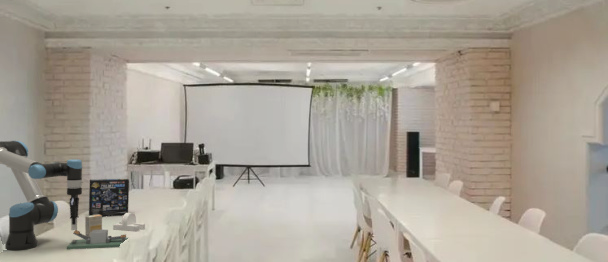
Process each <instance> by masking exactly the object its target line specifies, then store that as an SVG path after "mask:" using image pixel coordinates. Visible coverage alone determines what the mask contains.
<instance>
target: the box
mask: <svg viewBox="0 0 608 262" xmlns="http://www.w3.org/2000/svg"><path fill="white" fill-rule="evenodd" d="M129 190H130V179H129V178H104V179H103V178H99V179H98V178H96V179H95V178H94V179H93V178H92V179H91V178H90V179H89V191H88V192H89V193H88V216H90V215H97V214H99V215H102V218H103V217H106V216H107V217H118V216H119V217H122V215H123V216H124V214H125V213H129V196H130V195H129V194H130V193H129V192H130V191H129ZM107 217H106V218H107Z"/></svg>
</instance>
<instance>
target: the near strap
mask: <svg viewBox="0 0 608 262" xmlns="http://www.w3.org/2000/svg"><path fill="white" fill-rule="evenodd" d="M73 235H75V236H78V237H79V238H80V239H85V240H87V239H90V237H87V236H85V234H83V233H82V232H81V231H80V230H78V229H77V230H73Z"/></svg>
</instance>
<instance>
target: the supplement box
mask: <svg viewBox="0 0 608 262" xmlns="http://www.w3.org/2000/svg"><path fill="white" fill-rule="evenodd" d="M84 218H85V219H84V220H85V223H84V224H85V228H84V229H85V234H84V235H85V236H87V237H90V233H91V232H92V231H93V230H103V217H102V215H99V214H97V215H90V216H89V215H85V216H84Z"/></svg>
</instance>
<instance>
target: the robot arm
mask: <svg viewBox="0 0 608 262" xmlns="http://www.w3.org/2000/svg"><path fill="white" fill-rule="evenodd" d="M28 156H29V148H28V146H27V145H26V144H25V142H23V141H19V140H10V141H9V140H8V141H7V140H5V141H0V164H1V165H4V166H6V167H7V168H10V169H11V171H12V173H13V176H14V177H15V180H16V181H17V183H18V185H19V187H20V189H21V191H22V193H23V195H24V197H25V200H26V201H27V202H22V203H21V202H20V203H16V204H14V205H12V206H11V207H9V213H8V222H9V226H8V229H9V230H8V231H9V232H8V233H9V234H8V236H7V239H6V242H5V249H6V250H8V251H22V250H28V249H33V248H36V247H37V246H38V240H37V236H36V235H35V231H34V227H35V226H37V225H42V224H47V223H49V222H53V221H54V220H56V218H57V216H58V213H59V208H58V207H59V206H58V205H57V203H56V202H55V201H53V200H50V199H49V197H48V196H47V195H44V194H43V191H42V190H41V188H40V186H39V184H38V182H37V179H38V180H41V179H47V178H54V177H55V178H56V177H66V195H67V196H70V198H69V213H70V214H69V215H70V216H69V219H70V221H71V222H70V224H71V225H70V226H71V228H70V229H71V231H75V230H77V231H78V218H79V204H80V197H79V196H80V195H82V194H83V190H82V189H83V188H82V186H83V183H84V181H82V180H83V162H82V160H81V159H76V158H75V159H73V158H72V159H68V160H67V161H66V162H59V161H55V162H52V163H41V162H38V161H36V160H33V159H30V158H28Z"/></svg>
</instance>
